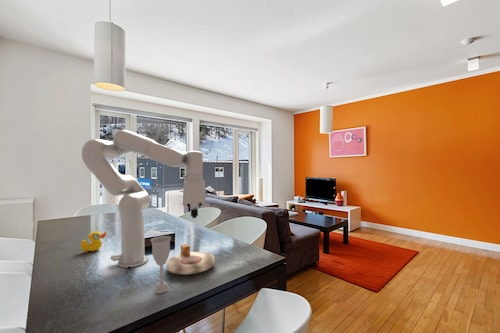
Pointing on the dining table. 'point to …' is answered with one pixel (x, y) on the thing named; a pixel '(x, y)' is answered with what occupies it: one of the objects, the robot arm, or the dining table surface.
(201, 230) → the dining table surface
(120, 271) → the dining table surface
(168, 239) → the chalice
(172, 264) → the turntable
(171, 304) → the dining table surface
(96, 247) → the duckling
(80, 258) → the dining table surface
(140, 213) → the robot arm
